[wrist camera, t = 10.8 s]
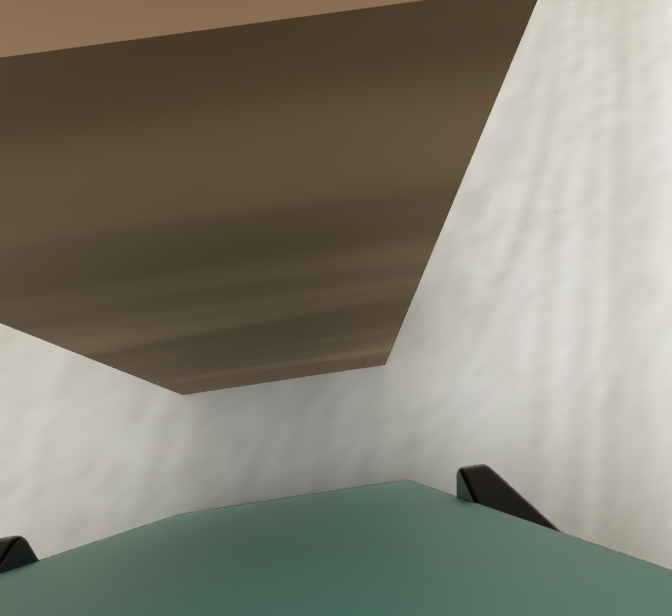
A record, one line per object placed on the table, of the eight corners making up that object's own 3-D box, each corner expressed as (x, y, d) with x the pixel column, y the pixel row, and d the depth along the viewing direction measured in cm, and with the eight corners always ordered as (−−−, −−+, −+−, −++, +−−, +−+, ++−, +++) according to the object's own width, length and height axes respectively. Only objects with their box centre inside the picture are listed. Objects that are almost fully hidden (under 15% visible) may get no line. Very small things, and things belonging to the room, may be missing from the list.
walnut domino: (384, 364, 17) (544, -17, 3) (182, 394, 17) (-502, 123, 3) (371, 287, 18) (461, -297, 4) (176, 315, 17) (-420, -188, 4)
